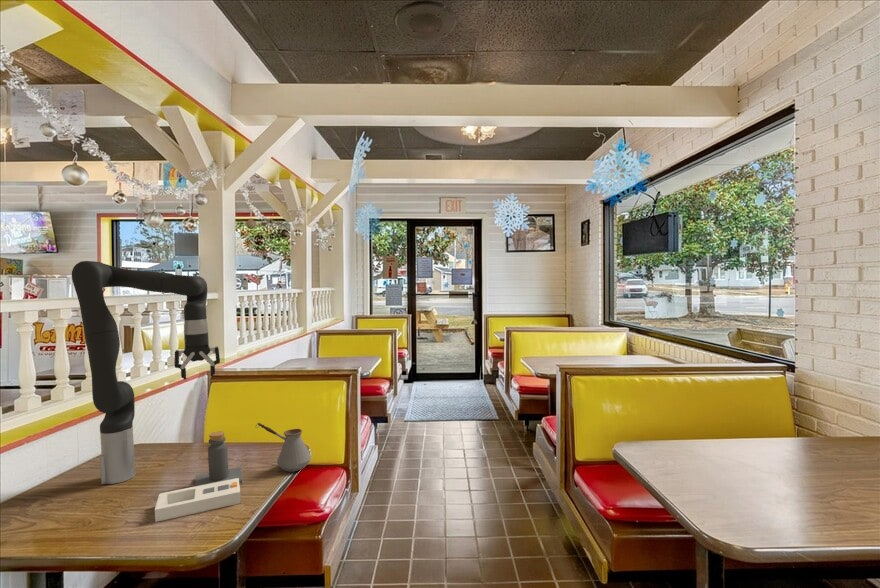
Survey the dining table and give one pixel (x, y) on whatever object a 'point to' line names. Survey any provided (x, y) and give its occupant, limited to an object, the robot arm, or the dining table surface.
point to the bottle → (217, 457)
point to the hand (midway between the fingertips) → (198, 377)
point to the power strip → (197, 499)
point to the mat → (233, 474)
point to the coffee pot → (291, 450)
